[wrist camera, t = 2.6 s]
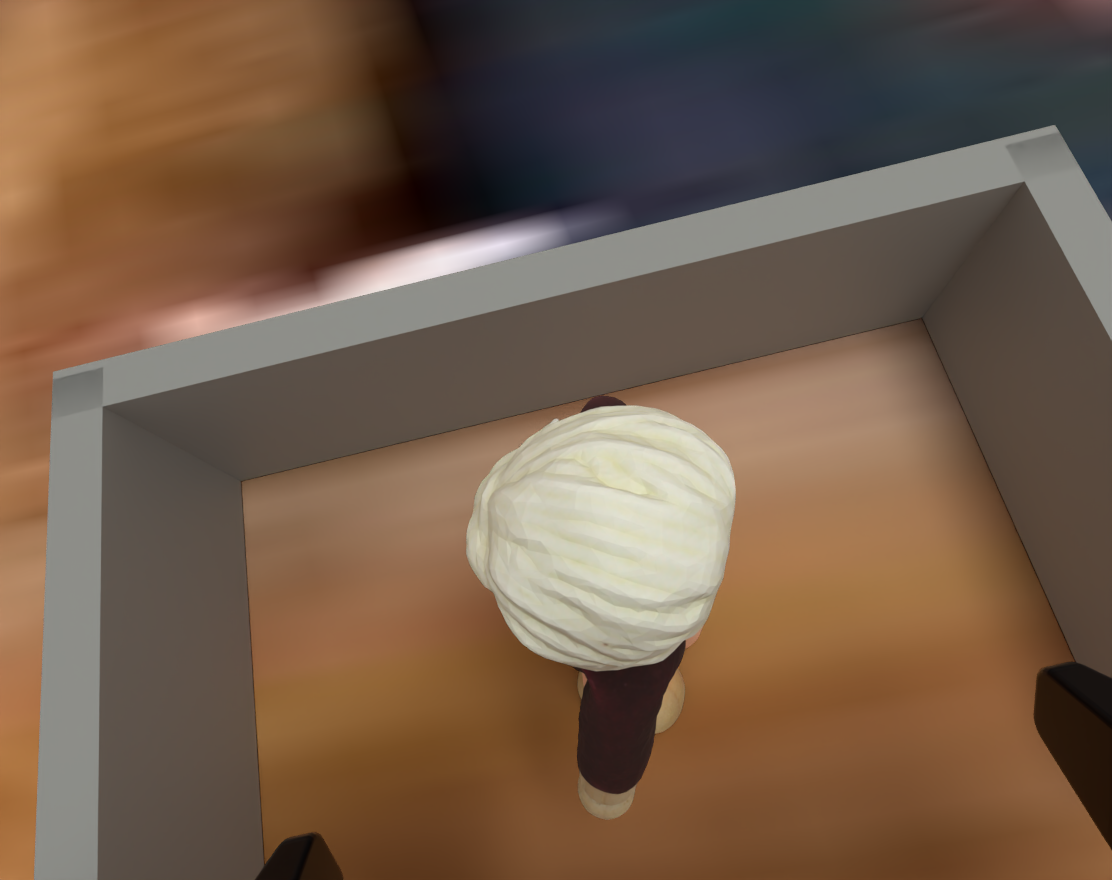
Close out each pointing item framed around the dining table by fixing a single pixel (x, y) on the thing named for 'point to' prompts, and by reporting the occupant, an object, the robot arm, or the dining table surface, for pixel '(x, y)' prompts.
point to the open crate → (515, 388)
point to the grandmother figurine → (609, 570)
